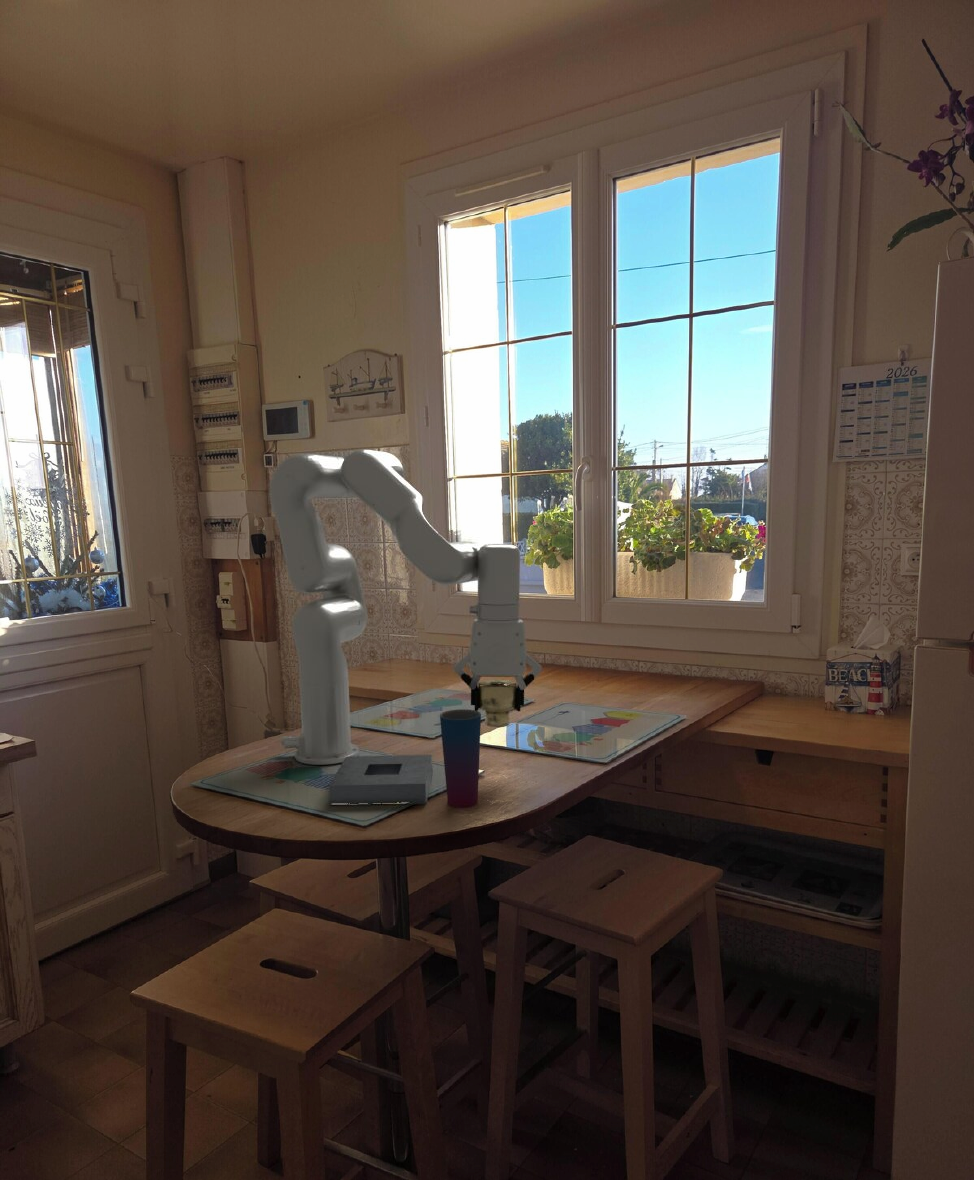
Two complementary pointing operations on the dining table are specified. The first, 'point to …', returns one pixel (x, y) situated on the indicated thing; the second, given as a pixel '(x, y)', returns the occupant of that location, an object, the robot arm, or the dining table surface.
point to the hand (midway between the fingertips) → (497, 708)
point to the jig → (382, 779)
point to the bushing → (497, 701)
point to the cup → (461, 755)
